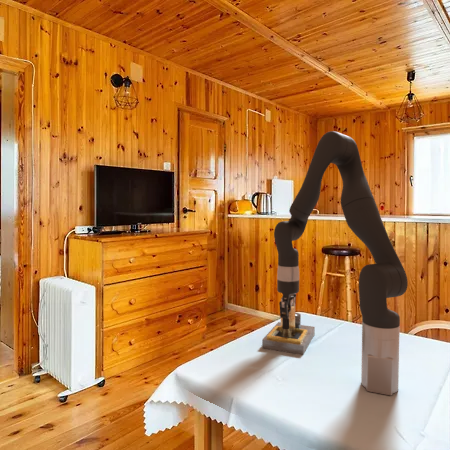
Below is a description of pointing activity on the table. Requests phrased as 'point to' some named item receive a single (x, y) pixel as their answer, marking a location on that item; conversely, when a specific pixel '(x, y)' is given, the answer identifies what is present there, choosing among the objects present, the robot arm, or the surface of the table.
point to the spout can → (291, 330)
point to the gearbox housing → (289, 338)
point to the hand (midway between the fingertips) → (287, 326)
